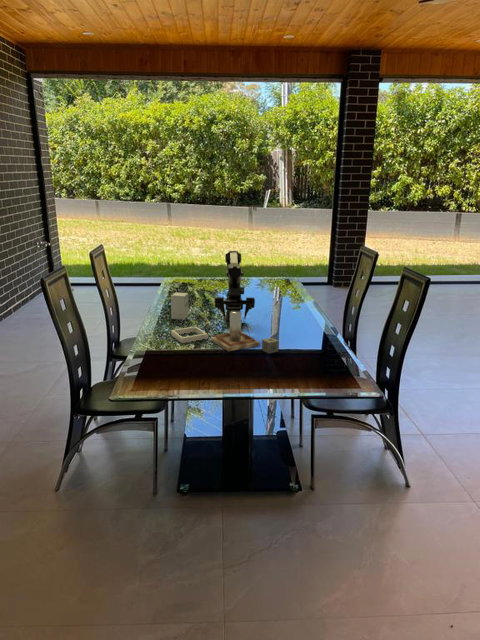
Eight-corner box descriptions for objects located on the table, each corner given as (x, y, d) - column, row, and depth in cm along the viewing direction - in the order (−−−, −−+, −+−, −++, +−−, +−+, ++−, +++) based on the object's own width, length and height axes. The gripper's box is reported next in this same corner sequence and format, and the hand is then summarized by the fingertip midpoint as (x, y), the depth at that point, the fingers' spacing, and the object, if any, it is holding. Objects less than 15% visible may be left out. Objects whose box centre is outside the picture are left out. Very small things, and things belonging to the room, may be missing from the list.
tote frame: (195, 331, 245) (195, 326, 244) (207, 339, 235) (207, 333, 234) (171, 335, 239) (171, 330, 238) (182, 343, 229) (182, 338, 228)
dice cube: (278, 351, 220) (278, 340, 219) (268, 353, 218) (268, 342, 216) (271, 348, 224) (271, 337, 223) (261, 350, 222) (262, 339, 220)
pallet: (241, 335, 240) (241, 329, 240) (259, 345, 227) (259, 339, 226) (211, 340, 233) (211, 334, 232) (228, 351, 220) (228, 345, 219)
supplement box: (184, 320, 263) (184, 296, 259) (171, 318, 264) (170, 295, 260) (189, 315, 270) (188, 292, 266) (175, 315, 271) (175, 292, 267)
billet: (232, 337, 233) (232, 310, 229) (242, 338, 231) (242, 311, 227) (228, 340, 228) (228, 312, 224) (238, 342, 227) (238, 314, 223)
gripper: (214, 280, 235) (214, 310, 228) (255, 280, 236) (256, 310, 228) (214, 292, 245) (214, 321, 238) (253, 292, 246) (254, 321, 238)
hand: (234, 318), depth 235 cm, fingers open, 9 cm apart
